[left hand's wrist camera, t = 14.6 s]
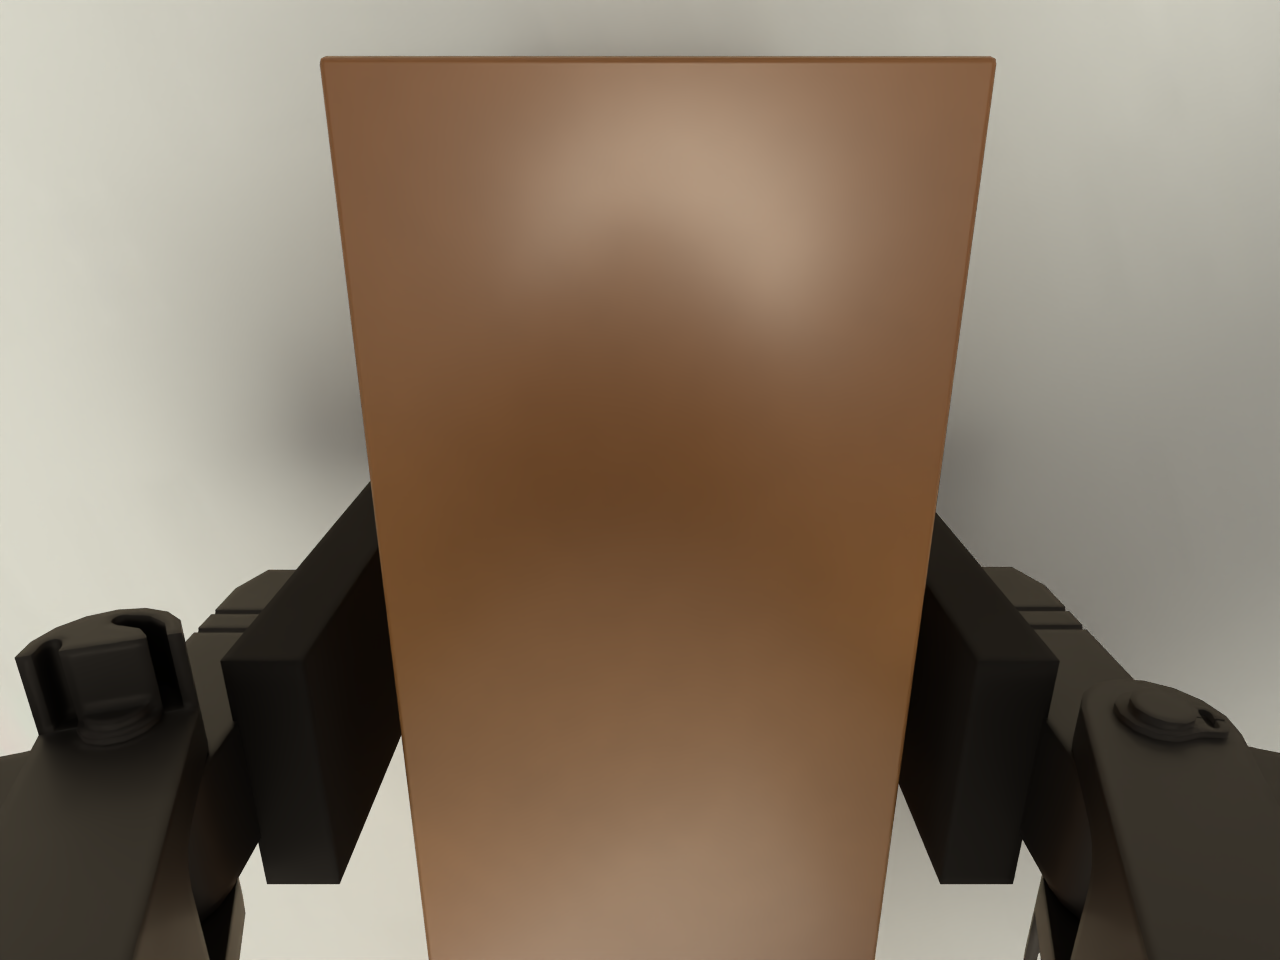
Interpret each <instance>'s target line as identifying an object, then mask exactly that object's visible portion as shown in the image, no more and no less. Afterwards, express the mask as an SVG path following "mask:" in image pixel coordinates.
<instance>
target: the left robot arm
mask: <svg viewBox="0 0 1280 960" xmlns="http://www.w3.org/2000/svg"><path fill="white" fill-rule="evenodd" d="M215 611H216V612H215V614H211V615H210V616H209V617H208V618H207V619H206V621H205V622H204V623H203V624H202V625H201V626H200V627H199V631H198V633H193V634H192V635H191V637H190V638H189V639H188V640H187V641H186V642H185V638H184V634H183V629H182V625H181V620H180V619H178V618H177V617H175V616H174V615H172V614H171V613H169V612H167V611H161V610H155V609H149V608H139V609H122V610H114V611H110V612H105V613H100V614H96V615H91V616H86V617H84V618H81V619H78V620H76V621H73V622H70V623H67V624H65V625H62V626H59V627H56V628H55V629H53V630H51V631H49V632H48V633H46V634H44V635H42V636H40V637H39V638H37V639H35V640H33V641H32V642H30V643H29V644H28V645H27V646H26V647H25V648H24V649H23V650H22V651H21V652H20V653H19V654H18V655H17V656H16V657H15V660H16V663H17V667H18V670H19V673H20V676H21V679H22V683H23V686H24V689H25V692H26V695H27V699H28V702H29V705H30V708H31V711H32V715H33V718H34V721H35V724H36V727H37V731H38V734H39V736H38V738H37V740H36V742H35V744H34V745H33V747H32V749H31V751H27V752H23V753H18V754H12V755H7V756H2V757H0V960H239V958H240V950H241V943H242V935H243V927H244V919H245V908H244V901H243V895H242V891H241V886H240V882H239V876H240V874H241V872H242V870H243V869H244V867H245V865H246V863H247V861H248V860H249V858H250V856H251V854H252V852H253V851H254V849H255V847H256V845H257V844H258V843H259V848H260V853H261V857H262V862H263V867H264V872H265V876H266V881H267V884H340V882H341V879H342V877H343V875H344V872H345V870H346V867H347V865H348V862H349V860H350V858H351V855H352V853H353V850H354V848H355V846H356V843H357V841H358V838H359V836H360V834H361V831H362V829H363V826H364V824H365V821H366V819H367V817H368V814H369V812H370V809H371V807H372V805H373V802H374V800H375V797H376V795H377V792H378V790H379V788H380V785H381V783H382V780H383V778H384V776H385V773H386V771H387V768H388V766H389V763H390V761H391V759H392V756H393V754H394V751H395V749H396V747H397V744H398V742H399V739H400V737H401V727H400V719H399V711H398V702H397V694H396V686H395V678H394V670H393V661H392V653H391V645H390V637H389V628H388V620H387V612H386V604H385V596H384V587H383V579H382V571H381V563H380V554H379V546H378V538H377V530H376V522H375V513H374V505H373V497H372V489H371V481H370V482H369V483H368V484H367V486H366V487H365V488H364V489H363V490H362V492H361V493H360V494H359V495H358V496H357V498H356V499H355V500H354V501H353V502H352V504H351V505H350V506H349V507H348V508H347V510H346V511H345V512H344V513H343V514H342V516H341V517H340V518H339V519H338V520H337V522H336V523H335V524H334V525H333V526H332V528H331V529H330V530H329V531H328V532H327V534H326V535H325V536H324V537H323V538H322V539H321V541H320V542H319V543H318V544H317V545H316V547H315V548H314V549H313V550H312V551H311V553H310V554H309V555H308V556H307V557H306V559H305V560H304V561H303V562H302V563H301V565H300V566H299V567H298V568H297V569H296V570H267V571H266V572H264V573H262V574H260V575H259V576H257V577H255V578H253V579H251V580H250V581H248V582H246V583H244V584H243V585H241V586H239V587H237V588H236V589H235V590H234V591H233V592H232V593H231V594H230V595H229V596H228V597H227V598H226V599H225V600H224V601H223V602H222V604H221V605H220V606H219V607H218V608H217V609H216V610H215ZM899 785H900V788H901V790H902V792H903V795H904V797H905V800H906V802H907V805H908V807H909V809H910V812H911V814H912V817H913V819H914V821H915V824H916V826H917V829H918V831H919V834H920V836H921V838H922V841H923V843H924V846H925V848H926V850H927V853H928V855H929V858H930V860H931V863H932V865H933V867H934V870H935V872H936V875H937V877H938V879H939V882H940V884H1013V881H1014V876H1015V872H1016V867H1017V862H1018V857H1019V853H1020V848H1021V843H1022V839H1023V841H1024V843H1025V845H1026V846H1027V848H1028V850H1029V852H1030V853H1031V855H1032V857H1033V859H1034V861H1035V862H1036V864H1037V866H1038V868H1039V870H1040V871H1041V873H1042V877H1041V882H1040V886H1039V891H1038V895H1037V899H1036V904H1035V908H1034V913H1033V917H1032V922H1031V926H1030V930H1029V935H1028V939H1027V944H1026V948H1025V954H1024V960H1037V957H1038V953H1040V956H1041V960H1280V753H1277V752H1272V751H1267V750H1262V749H1257V748H1253V747H1249V746H1247V744H1246V742H1245V740H1244V738H1243V736H1242V734H1241V733H1240V732H1239V731H1238V730H1237V728H1236V727H1235V726H1234V725H1233V724H1232V723H1231V721H1230V720H1229V719H1228V718H1227V717H1226V716H1225V715H1223V714H1222V713H1220V712H1219V711H1217V710H1216V709H1214V708H1213V707H1211V706H1210V705H1208V704H1207V703H1205V702H1204V701H1202V700H1200V699H1198V698H1195V697H1193V696H1191V695H1188V694H1186V693H1184V692H1181V691H1179V690H1177V689H1174V688H1171V687H1167V686H1163V685H1159V684H1155V683H1151V682H1147V681H1139V680H1134V679H1133V678H1132V677H1131V676H1130V675H1129V674H1128V673H1127V672H1126V671H1125V670H1124V669H1123V668H1122V666H1121V665H1120V664H1119V663H1118V662H1117V661H1116V660H1115V659H1114V658H1113V657H1112V656H1111V655H1110V654H1109V653H1108V652H1107V651H1106V650H1105V649H1104V647H1103V646H1102V645H1101V644H1100V643H1099V642H1098V641H1097V640H1096V639H1095V638H1094V637H1093V636H1092V635H1091V634H1090V633H1089V632H1088V631H1087V630H1083V629H1082V624H1081V623H1080V622H1079V621H1078V620H1077V619H1076V618H1075V617H1074V616H1073V615H1072V614H1071V613H1070V612H1069V611H1065V606H1064V605H1063V604H1062V603H1061V602H1060V601H1059V600H1058V599H1057V598H1056V597H1055V596H1054V595H1053V594H1052V593H1051V592H1050V590H1049V589H1048V588H1047V587H1046V586H1045V585H1043V584H1041V583H1039V582H1038V581H1036V580H1034V579H1032V578H1030V577H1029V576H1027V575H1025V574H1023V573H1022V572H1020V571H1018V570H1016V569H1014V568H1013V567H981V566H980V565H979V563H978V562H977V561H976V560H975V559H974V557H973V556H972V555H971V554H970V553H969V551H968V550H967V549H966V548H965V547H964V545H963V544H962V543H961V542H960V541H959V540H958V538H957V537H956V536H955V535H954V534H953V532H952V531H951V530H950V529H949V528H948V526H947V525H946V524H945V523H944V522H943V520H942V519H941V518H940V517H939V516H938V514H937V513H936V512H935V519H934V526H933V533H932V541H931V548H930V555H929V563H928V570H927V578H926V585H925V592H924V600H923V607H922V614H921V622H920V629H919V636H918V644H917V651H916V659H915V666H914V673H913V681H912V688H911V695H910V703H909V710H908V717H907V725H906V732H905V740H904V747H903V754H902V762H901V769H900V776H899Z"/></svg>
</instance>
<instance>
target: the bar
mask: <svg viewBox="0 0 1280 960" xmlns="http://www.w3.org/2000/svg"><path fill="white" fill-rule="evenodd" d="M320 70H321V78H322V86H323V94H324V102H325V111H326V119H327V127H328V135H329V144H330V152H331V160H332V168H333V176H334V185H335V193H336V201H337V209H338V218H339V226H340V234H341V242H342V250H343V259H344V267H345V275H346V283H347V291H348V300H349V308H350V316H351V324H352V333H353V341H354V349H355V357H356V365H357V374H358V382H359V390H360V398H361V407H362V415H363V423H364V431H365V439H366V448H367V456H368V464H369V472H370V480H371V489H372V497H373V505H374V513H375V522H376V530H377V538H378V546H379V554H380V563H381V571H382V579H383V587H384V596H385V604H386V612H387V620H388V628H389V637H390V645H391V653H392V661H393V670H394V678H395V686H396V694H397V702H398V711H399V719H400V727H401V735H402V743H403V752H404V760H405V768H406V776H407V785H408V793H409V801H410V809H411V817H412V826H413V834H414V842H415V850H416V859H417V867H418V875H419V883H420V891H421V900H422V908H423V916H424V924H425V932H426V941H427V949H428V957H429V960H875V953H876V946H877V938H878V931H879V924H880V916H881V909H882V902H883V894H884V887H885V879H886V872H887V865H888V857H889V850H890V843H891V835H892V828H893V821H894V813H895V806H896V798H897V791H898V784H899V776H900V769H901V762H902V754H903V747H904V740H905V732H906V725H907V717H908V710H909V703H910V695H911V688H912V681H913V673H914V666H915V659H916V651H917V644H918V636H919V629H920V622H921V614H922V607H923V600H924V592H925V585H926V578H927V570H928V563H929V555H930V548H931V541H932V533H933V526H934V519H935V511H936V504H937V497H938V489H939V482H940V475H941V467H942V460H943V452H944V445H945V438H946V430H947V423H948V416H949V408H950V401H951V394H952V386H953V379H954V371H955V364H956V357H957V349H958V342H959V335H960V327H961V320H962V313H963V305H964V298H965V290H966V283H967V276H968V268H969V261H970V254H971V246H972V239H973V232H974V224H975V217H976V209H977V202H978V195H979V187H980V180H981V173H982V165H983V158H984V151H985V143H986V136H987V128H988V121H989V114H990V106H991V99H992V92H993V84H994V77H995V70H996V59H995V58H993V57H991V56H325V57H323V58H321V61H320Z"/></svg>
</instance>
